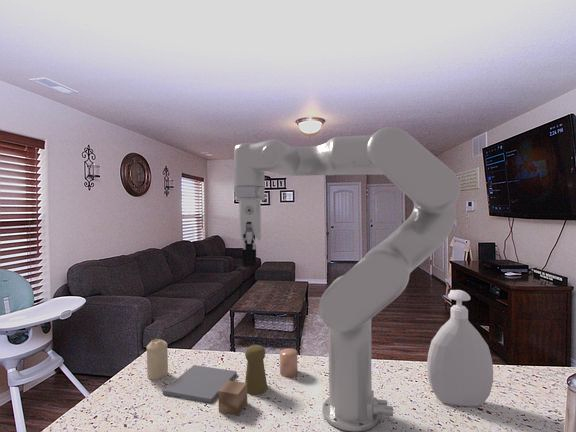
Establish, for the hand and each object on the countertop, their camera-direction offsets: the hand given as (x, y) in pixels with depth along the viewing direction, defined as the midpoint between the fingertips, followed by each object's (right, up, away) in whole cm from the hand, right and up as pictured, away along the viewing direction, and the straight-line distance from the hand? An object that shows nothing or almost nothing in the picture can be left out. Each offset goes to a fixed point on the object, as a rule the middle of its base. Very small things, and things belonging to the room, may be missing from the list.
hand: (249, 262), depth 82 cm
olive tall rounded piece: (+1, -34, +4) cm, 34 cm away
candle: (-28, -34, +12) cm, 45 cm away
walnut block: (-3, -34, -4) cm, 34 cm away
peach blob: (+10, -33, +12) cm, 37 cm away
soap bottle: (+51, -33, -3) cm, 61 cm away
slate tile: (-14, -34, +6) cm, 37 cm away
